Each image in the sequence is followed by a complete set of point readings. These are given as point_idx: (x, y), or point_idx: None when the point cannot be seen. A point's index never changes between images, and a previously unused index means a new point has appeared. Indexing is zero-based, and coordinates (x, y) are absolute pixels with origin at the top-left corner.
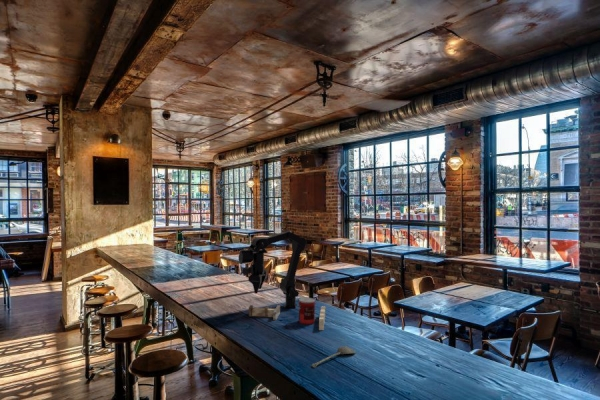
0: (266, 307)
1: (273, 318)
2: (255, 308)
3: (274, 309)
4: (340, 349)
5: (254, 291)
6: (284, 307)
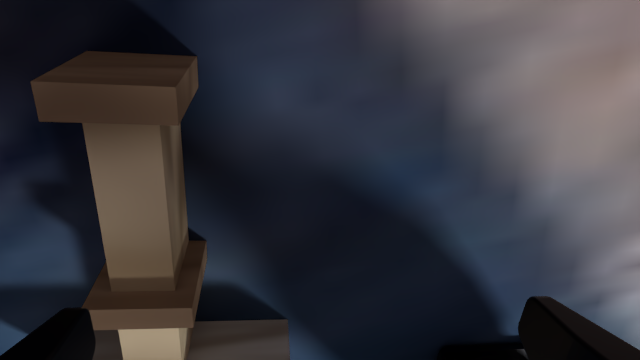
0: (122, 317)
1: None
2: (129, 164)
3: None
4: None
5: (22, 339)
6: (439, 351)
